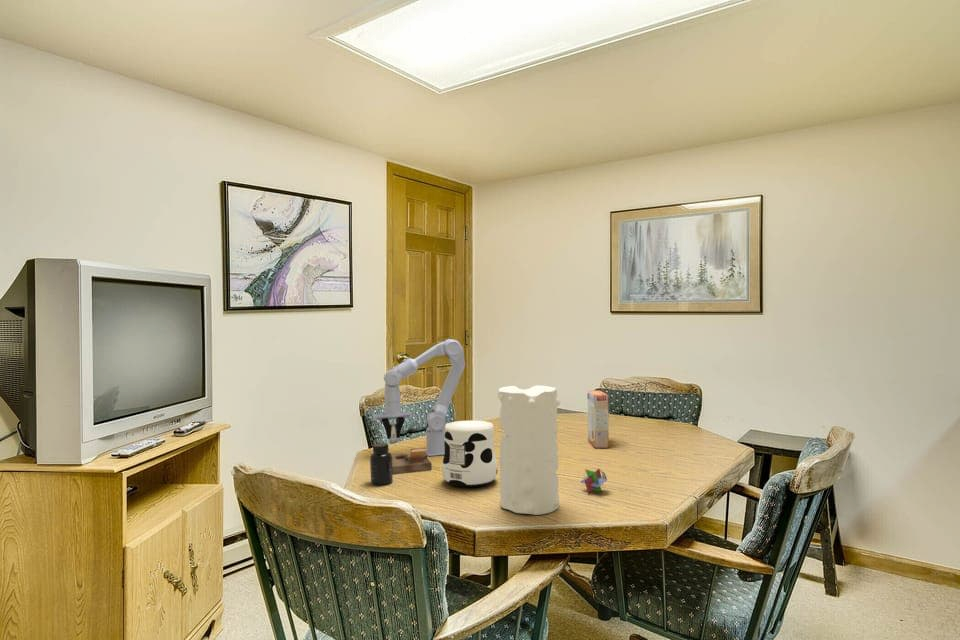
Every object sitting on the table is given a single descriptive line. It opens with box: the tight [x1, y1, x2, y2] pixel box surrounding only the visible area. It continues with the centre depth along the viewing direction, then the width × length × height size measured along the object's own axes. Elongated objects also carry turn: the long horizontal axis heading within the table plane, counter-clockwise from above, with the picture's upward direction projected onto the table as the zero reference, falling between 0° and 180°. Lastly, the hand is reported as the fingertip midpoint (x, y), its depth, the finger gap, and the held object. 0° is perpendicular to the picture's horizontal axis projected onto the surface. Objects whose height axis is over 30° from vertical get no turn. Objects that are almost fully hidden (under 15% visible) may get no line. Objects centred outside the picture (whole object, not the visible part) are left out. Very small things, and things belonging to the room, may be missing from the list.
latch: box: [409, 447, 427, 460], centre depth 185 cm, size 5×6×1 cm
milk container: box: [441, 420, 498, 488], centre depth 168 cm, size 17×17×18 cm
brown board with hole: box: [391, 452, 433, 475], centre depth 188 cm, size 14×16×4 cm
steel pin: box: [388, 422, 398, 444], centre depth 203 cm, size 3×3×7 cm
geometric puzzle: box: [580, 468, 608, 494], centre depth 157 cm, size 7×7×8 cm
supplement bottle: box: [369, 442, 394, 487], centre depth 169 cm, size 7×7×12 cm
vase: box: [497, 384, 561, 516], centre depth 146 cm, size 17×16×32 cm
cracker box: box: [586, 390, 610, 449], centre depth 216 cm, size 14×6×21 cm, turn 179°
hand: (393, 438), depth 203 cm, fingers closed on steel pin, 3 cm apart
